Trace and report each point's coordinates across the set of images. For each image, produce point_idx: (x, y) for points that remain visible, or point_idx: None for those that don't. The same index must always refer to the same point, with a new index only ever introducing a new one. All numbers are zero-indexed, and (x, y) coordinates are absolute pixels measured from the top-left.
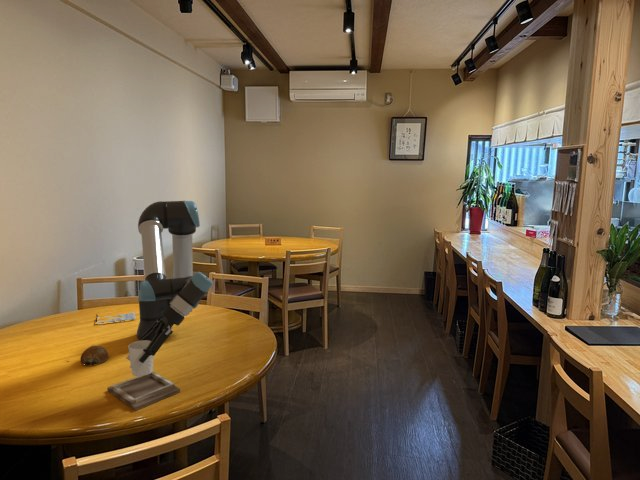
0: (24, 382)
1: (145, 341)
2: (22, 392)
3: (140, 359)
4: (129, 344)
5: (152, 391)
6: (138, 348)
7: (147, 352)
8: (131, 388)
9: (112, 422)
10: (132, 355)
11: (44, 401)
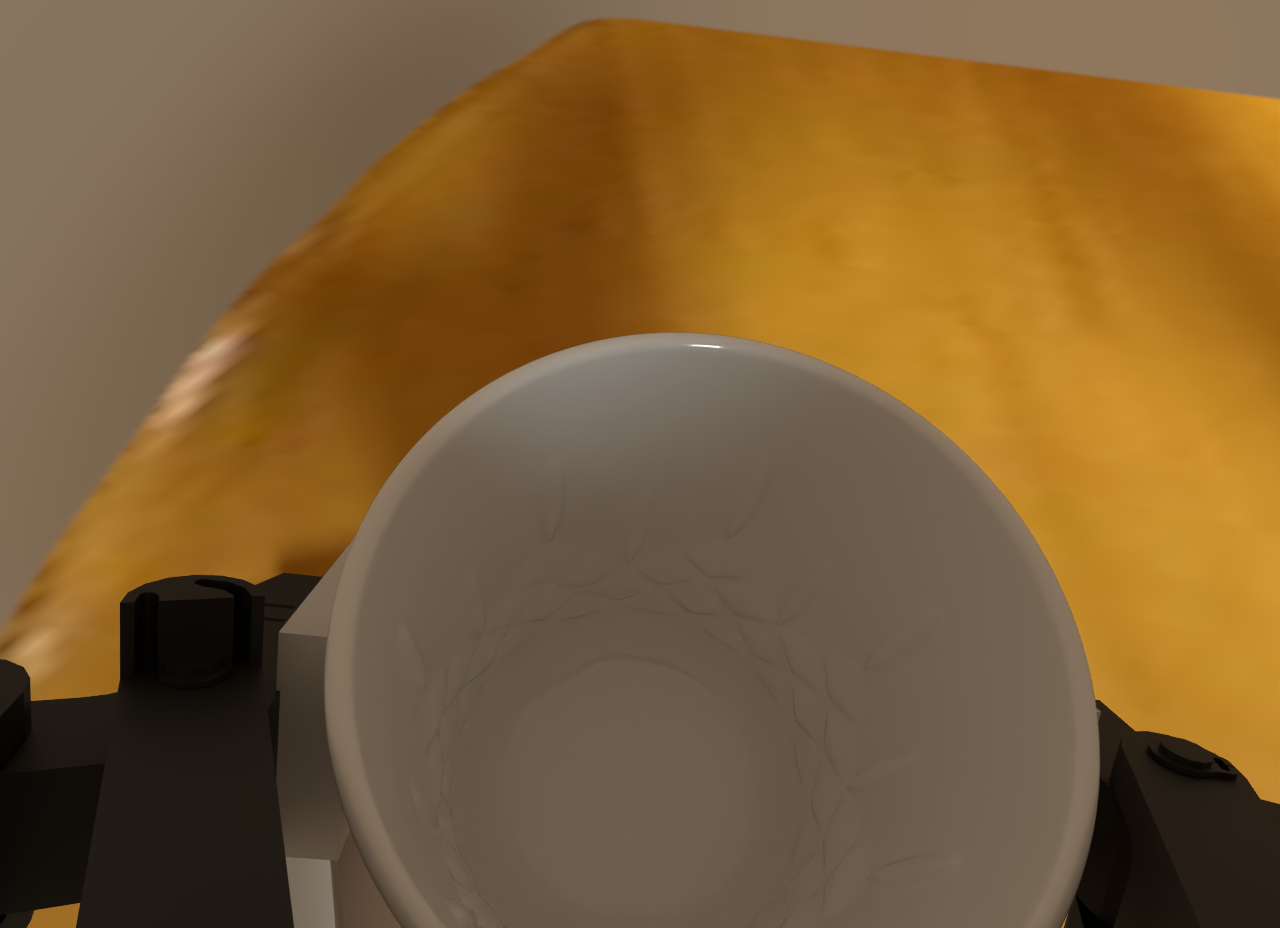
0: (1205, 152)
1: (1034, 881)
2: (1054, 125)
3: (281, 589)
4: (894, 400)
5: (320, 898)
6: (936, 700)
7: (97, 704)
8: None
9: (164, 431)
10: (545, 471)
11: (859, 179)
